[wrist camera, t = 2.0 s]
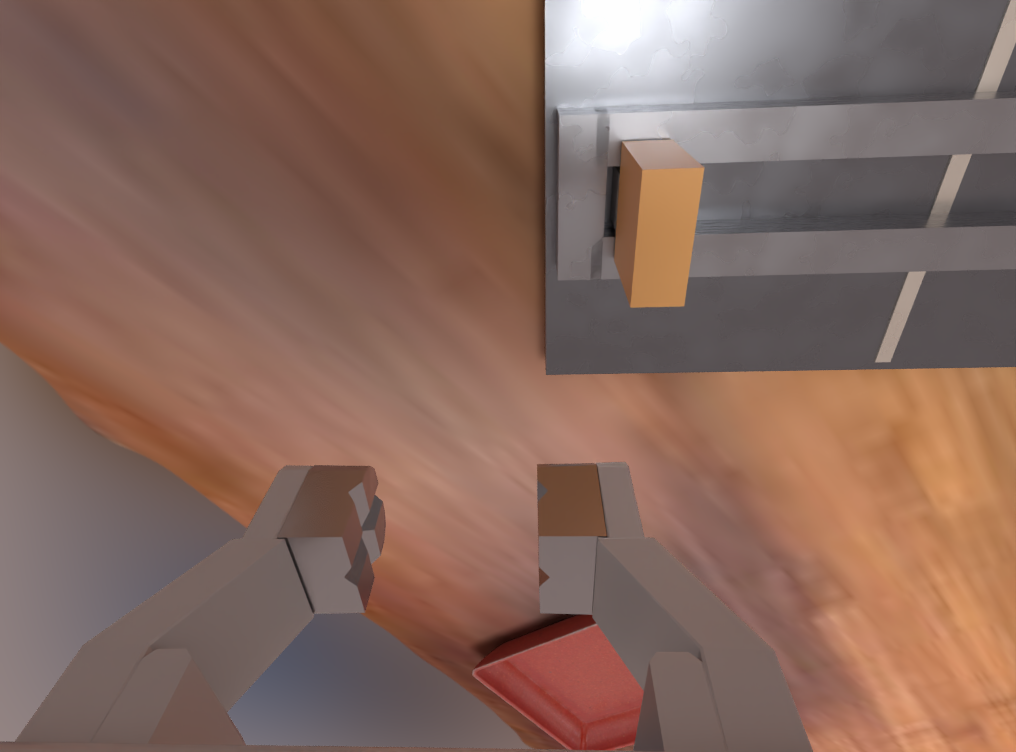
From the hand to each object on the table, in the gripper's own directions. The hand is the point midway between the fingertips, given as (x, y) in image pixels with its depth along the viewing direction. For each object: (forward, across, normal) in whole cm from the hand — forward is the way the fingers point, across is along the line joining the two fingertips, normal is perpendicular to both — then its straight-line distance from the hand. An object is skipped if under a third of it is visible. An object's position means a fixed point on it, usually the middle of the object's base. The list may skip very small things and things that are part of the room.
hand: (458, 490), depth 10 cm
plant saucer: (+22, -8, +42) cm, 48 cm away
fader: (+19, -6, 0) cm, 20 cm away
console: (+21, -16, 0) cm, 26 cm away
